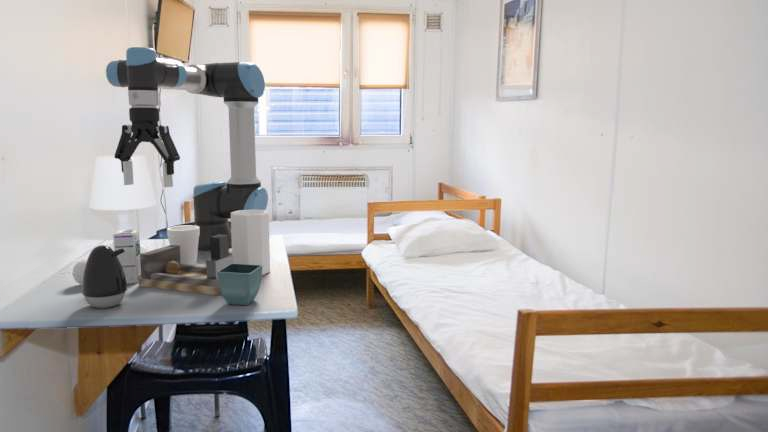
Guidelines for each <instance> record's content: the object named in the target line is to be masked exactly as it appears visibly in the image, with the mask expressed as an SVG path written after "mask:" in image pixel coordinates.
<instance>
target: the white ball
mask: <svg viewBox="0 0 768 432" xmlns="http://www.w3.org/2000/svg"><path fill="white" fill-rule="evenodd" d="M87 259H88V258H87ZM87 259H86V258H85V259H81V260H80V261H78V262H76V264H75V265H74V266H73V268H72V272H71V271H70V272H68V274H71V273H72V274H71V275H72V277H73V279H74V281H75V282H77V283H78V284H79V285H81V286H82V280H83V273H84V269H85V265H86V262H87ZM61 274H62V275H63V274H65V272H64V273H63V272H62V273H61Z"/></svg>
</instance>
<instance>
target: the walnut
mask: <svg viewBox="0 0 768 432" xmlns="http://www.w3.org/2000/svg"><path fill="white" fill-rule="evenodd" d="M179 269H180V266H179V264H178V263H177V262H175V261H169V262H168V263H167V264H166V265H165V271H166V273H167V274H173V275H175V274H177V273H178V272H179Z"/></svg>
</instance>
